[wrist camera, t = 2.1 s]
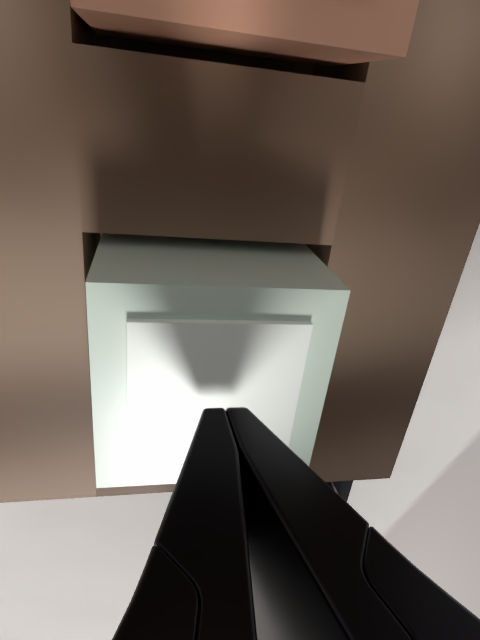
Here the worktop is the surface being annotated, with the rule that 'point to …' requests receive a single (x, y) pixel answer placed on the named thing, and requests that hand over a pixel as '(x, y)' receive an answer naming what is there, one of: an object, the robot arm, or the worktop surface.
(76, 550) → the worktop surface
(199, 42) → the terracotta key
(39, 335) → the key console
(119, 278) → the sage key
